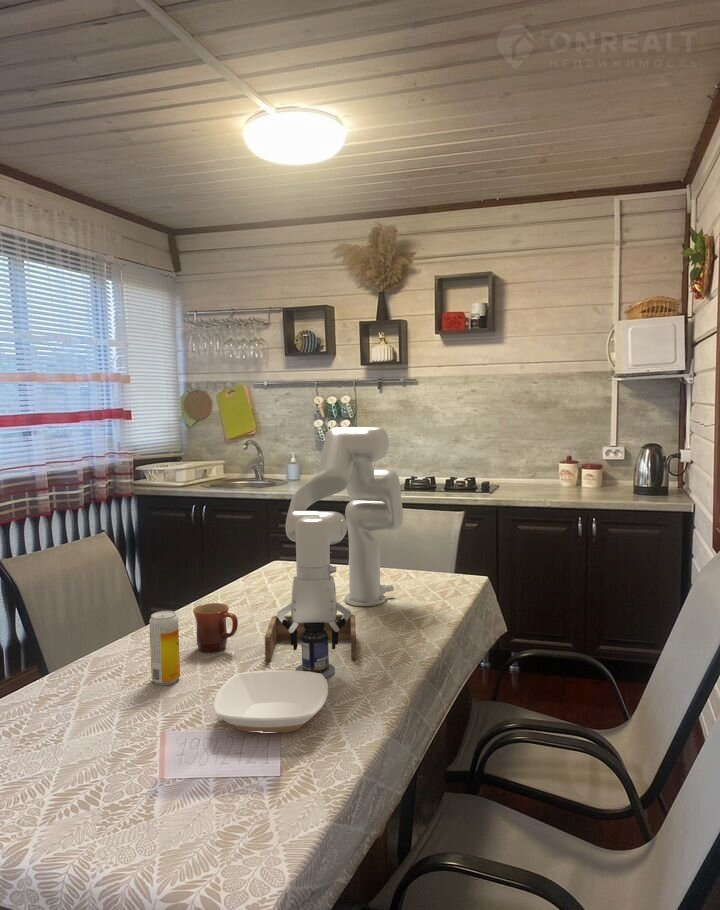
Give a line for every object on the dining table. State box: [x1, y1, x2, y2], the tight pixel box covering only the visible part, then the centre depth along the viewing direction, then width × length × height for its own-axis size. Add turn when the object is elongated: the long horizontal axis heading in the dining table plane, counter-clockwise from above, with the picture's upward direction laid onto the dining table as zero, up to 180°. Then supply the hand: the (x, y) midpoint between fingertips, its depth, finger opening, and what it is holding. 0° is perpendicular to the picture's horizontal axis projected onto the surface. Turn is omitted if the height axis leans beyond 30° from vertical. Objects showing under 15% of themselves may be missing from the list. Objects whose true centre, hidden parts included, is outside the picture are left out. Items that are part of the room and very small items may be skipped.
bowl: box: [212, 669, 329, 734], centre depth 129 cm, size 22×22×5 cm
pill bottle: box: [300, 623, 330, 673], centre depth 151 cm, size 6×6×11 cm
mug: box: [192, 602, 239, 653], centre depth 165 cm, size 12×9×10 cm
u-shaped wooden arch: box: [264, 613, 357, 663], centre depth 165 cm, size 16×22×6 cm
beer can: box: [149, 610, 181, 686], centre depth 147 cm, size 6×6×15 cm
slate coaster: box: [294, 663, 336, 680], centre depth 151 cm, size 9×9×1 cm
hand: (314, 647), depth 150 cm, fingers open, 8 cm apart
